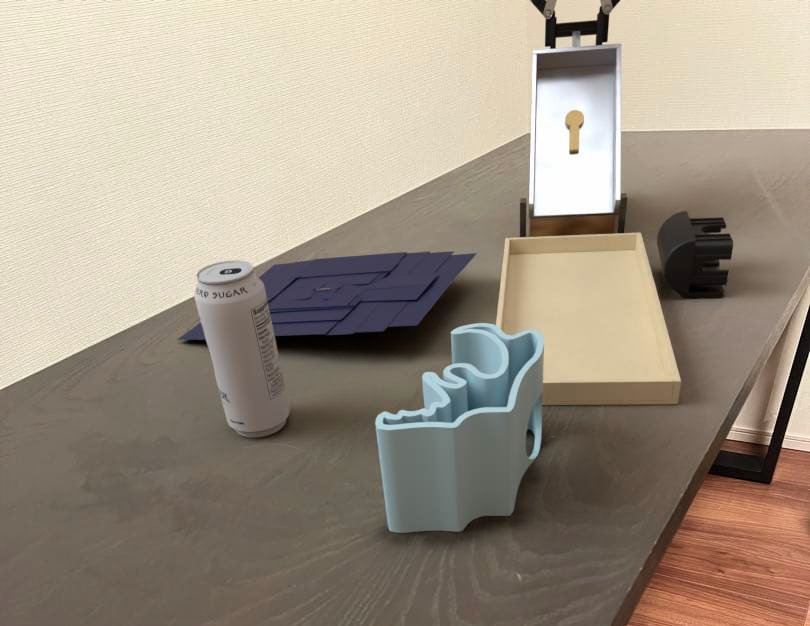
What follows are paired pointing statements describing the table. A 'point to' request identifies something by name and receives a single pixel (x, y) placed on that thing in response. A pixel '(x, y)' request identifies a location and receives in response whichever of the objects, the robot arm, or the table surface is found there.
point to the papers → (354, 292)
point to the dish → (598, 136)
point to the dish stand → (573, 223)
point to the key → (574, 128)
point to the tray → (590, 318)
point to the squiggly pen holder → (465, 433)
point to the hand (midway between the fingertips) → (575, 49)
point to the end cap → (694, 255)
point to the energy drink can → (242, 347)
